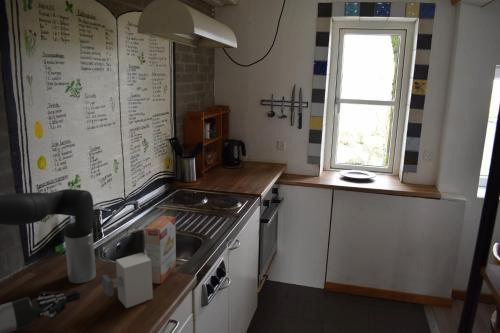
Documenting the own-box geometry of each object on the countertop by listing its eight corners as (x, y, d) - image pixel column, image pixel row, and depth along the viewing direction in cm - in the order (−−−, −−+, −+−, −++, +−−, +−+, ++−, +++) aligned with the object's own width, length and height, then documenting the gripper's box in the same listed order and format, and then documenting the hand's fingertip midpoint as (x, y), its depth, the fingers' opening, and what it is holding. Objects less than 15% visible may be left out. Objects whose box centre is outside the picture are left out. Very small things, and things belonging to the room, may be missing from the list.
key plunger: (103, 289, 122) (102, 275, 121) (125, 282, 127) (125, 268, 126) (108, 296, 118) (107, 282, 117) (132, 288, 123) (131, 274, 122)
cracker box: (162, 285, 136) (160, 230, 131) (146, 283, 137) (144, 228, 132) (177, 266, 149) (176, 216, 144) (162, 265, 150) (161, 214, 146)
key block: (118, 298, 127) (115, 259, 124) (143, 289, 133) (142, 252, 130) (126, 308, 122) (124, 268, 119) (152, 298, 127) (151, 259, 124)
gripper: (14, 315, 98) (84, 292, 109) (6, 293, 108) (71, 274, 119) (18, 341, 100) (87, 316, 111) (9, 316, 110) (73, 295, 120)
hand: (78, 294), depth 115 cm, fingers closed
